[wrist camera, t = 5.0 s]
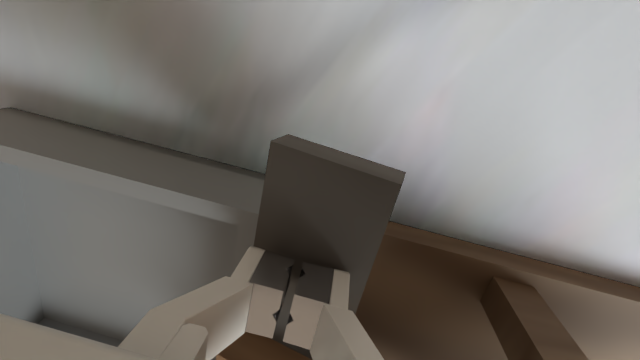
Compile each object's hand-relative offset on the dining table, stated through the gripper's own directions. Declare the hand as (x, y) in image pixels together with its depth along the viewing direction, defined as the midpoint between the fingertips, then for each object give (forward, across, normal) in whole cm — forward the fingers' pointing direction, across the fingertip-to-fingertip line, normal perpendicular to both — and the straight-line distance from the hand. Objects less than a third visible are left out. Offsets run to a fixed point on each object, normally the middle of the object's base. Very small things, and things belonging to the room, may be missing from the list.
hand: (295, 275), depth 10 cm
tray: (+7, +10, +8) cm, 14 cm away
